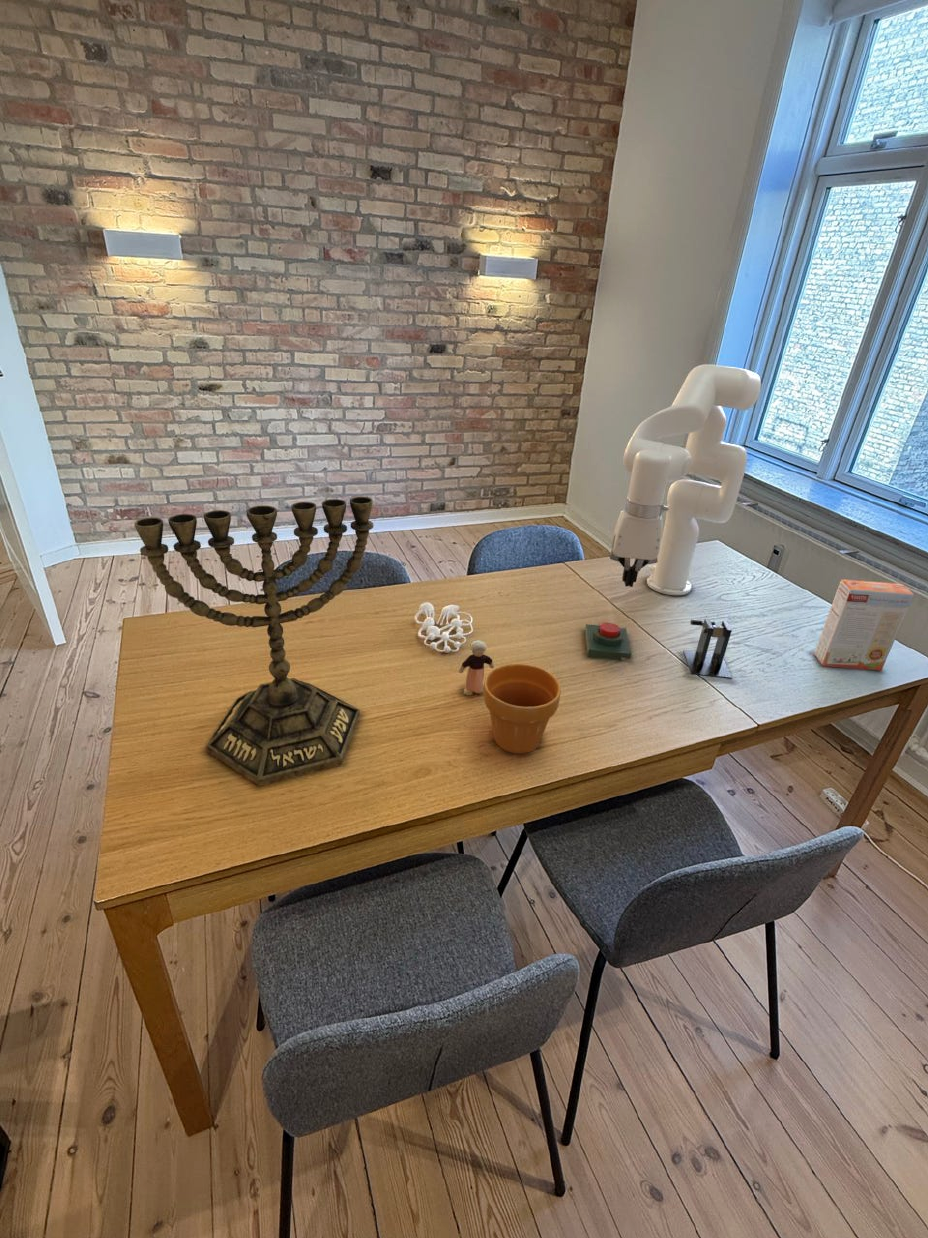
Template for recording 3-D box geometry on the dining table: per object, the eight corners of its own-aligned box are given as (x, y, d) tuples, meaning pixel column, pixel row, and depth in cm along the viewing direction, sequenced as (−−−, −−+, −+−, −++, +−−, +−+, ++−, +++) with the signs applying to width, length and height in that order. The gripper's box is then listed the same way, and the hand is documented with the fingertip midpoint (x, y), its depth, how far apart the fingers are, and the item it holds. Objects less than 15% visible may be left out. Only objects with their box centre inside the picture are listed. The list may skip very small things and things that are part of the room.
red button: (598, 627, 157) (599, 621, 156) (617, 629, 157) (618, 623, 156) (600, 637, 153) (601, 631, 152) (619, 639, 153) (620, 633, 152)
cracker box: (870, 658, 158) (903, 582, 147) (881, 672, 152) (917, 594, 142) (812, 653, 158) (840, 577, 148) (821, 666, 153) (851, 589, 143)
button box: (584, 631, 162) (587, 618, 160) (624, 635, 162) (627, 621, 160) (587, 657, 152) (589, 642, 150) (629, 661, 151) (632, 647, 149)
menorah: (191, 804, 106) (135, 556, 84) (180, 716, 126) (132, 495, 104) (398, 749, 120) (397, 524, 98) (359, 677, 140) (351, 476, 118)
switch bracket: (682, 654, 155) (693, 611, 149) (720, 658, 154) (733, 615, 149) (690, 677, 146) (702, 633, 141) (730, 682, 146) (744, 637, 140)
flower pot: (468, 724, 128) (472, 670, 121) (530, 709, 133) (537, 657, 127) (499, 771, 117) (505, 715, 110) (566, 753, 122) (575, 698, 115)
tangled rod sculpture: (474, 659, 150) (477, 645, 148) (413, 654, 149) (414, 640, 147) (470, 617, 167) (472, 603, 165) (414, 611, 165) (416, 598, 163)
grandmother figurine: (464, 700, 135) (467, 649, 129) (455, 690, 138) (458, 640, 131) (495, 691, 138) (500, 641, 132) (486, 682, 141) (490, 632, 135)
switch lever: (689, 626, 157) (691, 616, 157) (712, 628, 157) (714, 619, 156) (704, 636, 144) (706, 626, 144) (729, 638, 144) (731, 628, 144)
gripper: (674, 505, 142) (658, 580, 151) (607, 500, 143) (594, 574, 152) (681, 517, 136) (663, 594, 145) (610, 511, 137) (597, 588, 146)
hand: (628, 583), depth 148 cm, fingers closed
